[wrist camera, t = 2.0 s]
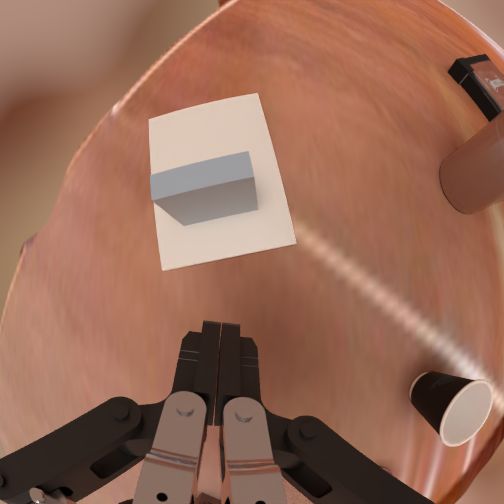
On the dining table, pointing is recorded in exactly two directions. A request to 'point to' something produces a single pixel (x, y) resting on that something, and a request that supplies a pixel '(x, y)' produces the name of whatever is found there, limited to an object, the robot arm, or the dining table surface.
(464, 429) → the dixie cup
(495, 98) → the book
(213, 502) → the tissue box cover
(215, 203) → the tile
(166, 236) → the board
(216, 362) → the robot arm
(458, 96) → the dining table surface
